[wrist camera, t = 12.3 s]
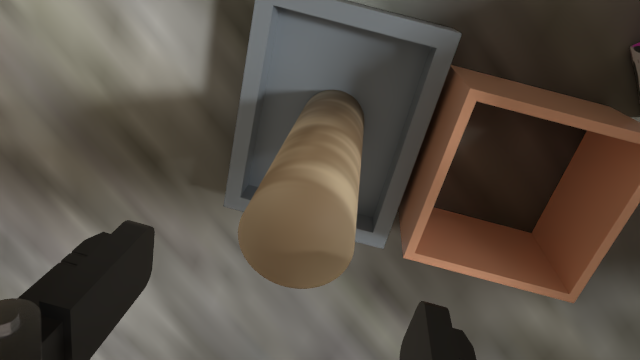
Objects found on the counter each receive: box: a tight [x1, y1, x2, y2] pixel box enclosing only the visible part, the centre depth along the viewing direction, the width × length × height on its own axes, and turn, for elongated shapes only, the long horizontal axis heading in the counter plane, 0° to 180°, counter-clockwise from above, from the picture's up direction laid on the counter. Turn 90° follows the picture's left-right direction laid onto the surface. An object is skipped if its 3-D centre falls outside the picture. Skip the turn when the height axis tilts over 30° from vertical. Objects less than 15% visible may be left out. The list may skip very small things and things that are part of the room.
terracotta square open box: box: [398, 65, 640, 303], centre depth 25 cm, size 10×10×6 cm
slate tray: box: [224, 0, 462, 249], centre depth 27 cm, size 11×14×3 cm
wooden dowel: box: [238, 90, 364, 289], centre depth 21 cm, size 4×4×14 cm
